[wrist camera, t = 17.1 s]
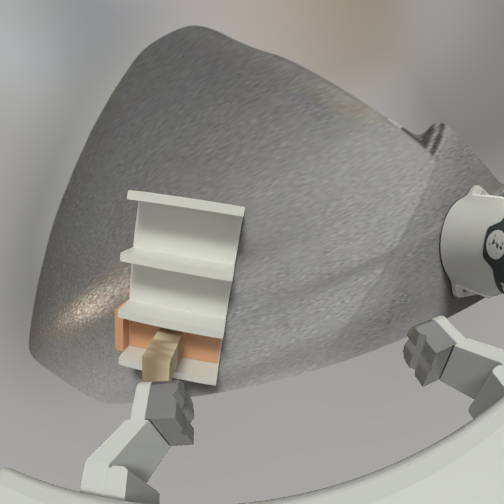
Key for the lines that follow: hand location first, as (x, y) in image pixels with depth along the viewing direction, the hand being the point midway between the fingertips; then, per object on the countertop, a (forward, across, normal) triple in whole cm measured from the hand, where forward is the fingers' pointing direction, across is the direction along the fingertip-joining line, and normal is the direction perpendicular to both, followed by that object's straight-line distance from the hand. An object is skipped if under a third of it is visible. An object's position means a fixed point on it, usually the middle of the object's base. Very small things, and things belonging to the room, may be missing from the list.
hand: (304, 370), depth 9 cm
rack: (+25, +10, +10) cm, 29 cm away
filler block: (+23, +12, +16) cm, 30 cm away
